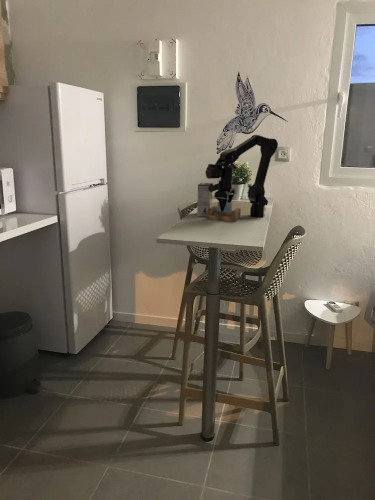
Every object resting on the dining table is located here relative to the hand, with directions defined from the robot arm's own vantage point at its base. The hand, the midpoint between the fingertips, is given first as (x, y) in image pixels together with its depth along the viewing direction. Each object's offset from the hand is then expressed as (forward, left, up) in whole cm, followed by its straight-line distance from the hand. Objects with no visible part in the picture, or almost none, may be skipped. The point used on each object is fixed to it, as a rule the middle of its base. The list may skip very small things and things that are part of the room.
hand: (224, 209), depth 197 cm
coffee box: (+12, -5, -5) cm, 14 cm away
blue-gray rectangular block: (0, 0, -2) cm, 2 cm away
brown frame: (0, 0, -4) cm, 4 cm away
